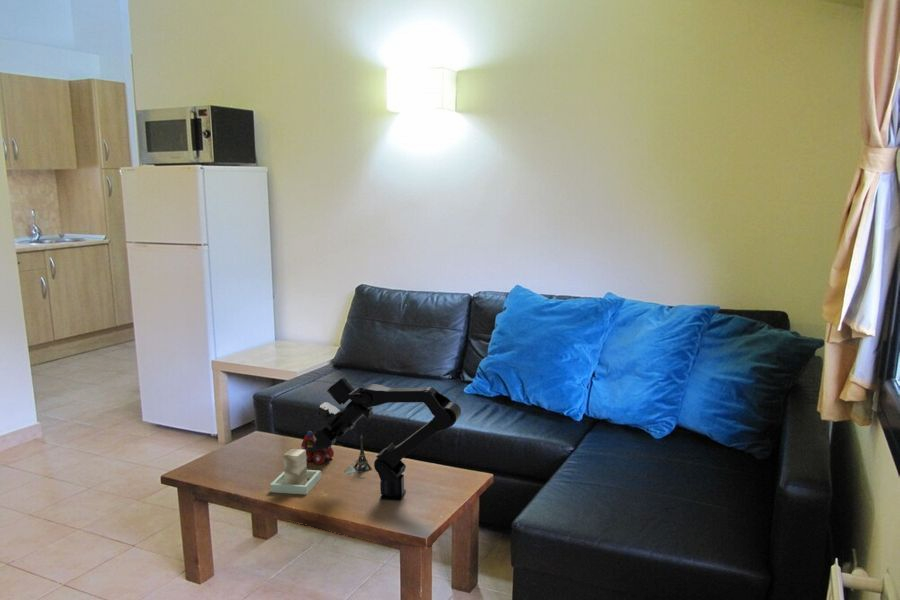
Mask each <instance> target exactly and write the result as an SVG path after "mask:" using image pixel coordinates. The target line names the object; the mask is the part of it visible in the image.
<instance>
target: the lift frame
mask: <svg viewBox="0 0 900 600" xmlns="http://www.w3.org/2000/svg"><path fill="white" fill-rule="evenodd" d="M321 478H322V471H321V470H318V469H317V470H314V469H313V470H312V469H307V479H308V480H307V483H306V484H305V485H292V484H285V475H284V471H282V472H281V474H279V476H277V477H276V478H275V479H274V480H272V482H271V483H270V484H269V487H270V488H269V489H270V491H269V492H270V493H279V494H293V495H294V494H295V495H308V494H309V493H310V492H311V490H312V489H313V488H314V487H315V486H316V485H317V483H319V481H320V480H321Z"/></svg>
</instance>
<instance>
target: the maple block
mask: <svg viewBox="0 0 900 600" xmlns="http://www.w3.org/2000/svg"><path fill="white" fill-rule="evenodd" d="M282 457H283V472H284V475H285V481H284V484H292V485H305V484H306V483H307V482H308V478H307V470H308V466H307V463H308V462H306V450H302V448H299V449H298V448H291V449H290V450H288V451H287V452H285V453H284V454H283V455H282Z"/></svg>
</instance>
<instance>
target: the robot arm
mask: <svg viewBox="0 0 900 600" xmlns="http://www.w3.org/2000/svg"><path fill="white" fill-rule="evenodd" d="M326 392H327V394H329V396H330V397H331V398H332V399H333V400H334V402H336V403H337V404H338V405H340V406H341V405H343V406H344V405H346V406H344V407H343V408H341V409H339V408H338V407H336V406H335V405H334V404H331V403H330V402H328V401H327V402H326V401H325V402H323V403H321V404H320V405H319V407H318V409H316V416H317V417H319V418H320V419H323V420H325V421H327V422H326V424H327V425H328V426H330V429H329V428H328V426H323V425H322V426H321V427H319V428H318V429H317V430H316V431H315V432H313V433H314V436H315V438H316V441H315V443H314V445H313V446H312V448H311V451H312V452H316V451H319V450H323V449H328V448H329V447H331V448H332V446H333V445H334V444H335V443H337V438H340V437H342V436H344V435H346V434H348V432H350V431H351V430H352V429H353V428H354V427H355V426H356V424H357V422H358V421H359V420H360V419H361V418H362V417H363V416H365V418H367V419H370V418H371V417H372V416H373V415H374V412H373V407H377V406H381V405H385V404H390V403H391V404H392V403H394V404H395V403H424V405H425V406H427V408H428V410H429V412H430V413H431V414H432V416H434V417H433V418H432V419H431V420H429V421H428V422H426V423H425V424H424V425H423V426H422V427H420V428H419V429H418V430H416V431H415V432H414V433H413V434H411V435H410V436H409V437H407V438H406V439H404V440H403V441H402V442H401V443H399V444H397V445H395V444H394V443H393V442H391V443H390V444H389V445H388V446H387V447H385V448H382V450H381V451H380V452H379V453H378V454H377V455H376V457H375V458H376V459H375V460H374V462H373V463H374V464H373V466H374V469H375V471H376V473H377V474H378V477H379V479H380V482H379V484H380V485H379V486H380V490H379V491H380V495H381V496H380V499H381V500H394V501H401V500H402V499H403V497H404V496H405V494H406V492H407V490H406V489H405V475H404V474H403V473H404V472H405V471H406V468H407V465H406V464H405V463H404V462H403V460H402V459H403V458H404V457H406V456H408V455H409V454H410V453H412V452H413V450H415V449H417V448H418V447H419V446H420V445H422V444H423V443H424V442H426V441H427V440H428V439H429V438H431V437H432V436H434V435H435V434H436V433H439V432H440V433H441V432H442V431H445V430H447V429H449V428H450V427H452V426H454V425H455V423H456V422H457V421H458V420H459V419H460V417H461V415H462V409H461V407H460V406H459V404H458V403H456V402H453V401H452V400H451V399H450V398H449V397H447V396H446V395H444V394H442V393H440V392H438V390H437V389H435V388H434V387H433V386H426V387H388V386H385V385H383V384H376V383H370V384H368V385H367V386H363V387H357V388H356V389H355V388H354V387H353V386H352V385H351V384H350V383H349V381H348V380H347V379H346V378H345V377H344V376H343V377H341V378H340V379H338V380H337V381H336V382H335V383H334V384H333V385H331V386H330V387H329V388H328V389H327V390H326ZM348 402H349V403H348Z"/></svg>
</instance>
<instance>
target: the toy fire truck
mask: <svg viewBox="0 0 900 600" xmlns="http://www.w3.org/2000/svg"><path fill="white" fill-rule="evenodd" d="M314 433H315V432H313V431H312V430H308V431H307V433H306V435H304V437H303V440H302V442H301V444H300V445H301V449H302V450H306V462H307V463H309V462H311V461H312V460H313V462H314V463H315V464H317V465H321V464H323V463H324V462H325V461H326V460H327V459H328V460H329V459H331V458H333V457H334V454H335V452H334V449H333V448H332V446H331V447H329V448H328V449H323V450H319V451H316V452H312V451H311V448H312V446H313V445H314V443H315V441H316V438H315V436H314Z"/></svg>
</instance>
